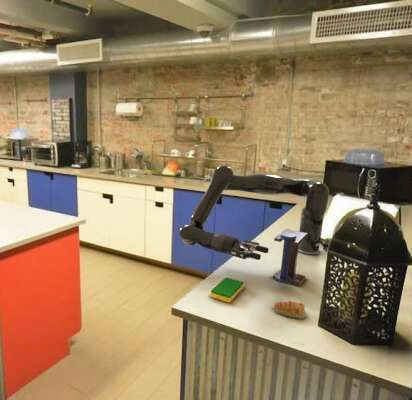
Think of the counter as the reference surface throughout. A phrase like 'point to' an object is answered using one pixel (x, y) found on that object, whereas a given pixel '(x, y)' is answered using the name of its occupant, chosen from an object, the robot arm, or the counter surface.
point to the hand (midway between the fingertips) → (264, 253)
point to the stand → (293, 257)
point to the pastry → (290, 309)
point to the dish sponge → (227, 289)
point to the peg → (285, 258)
